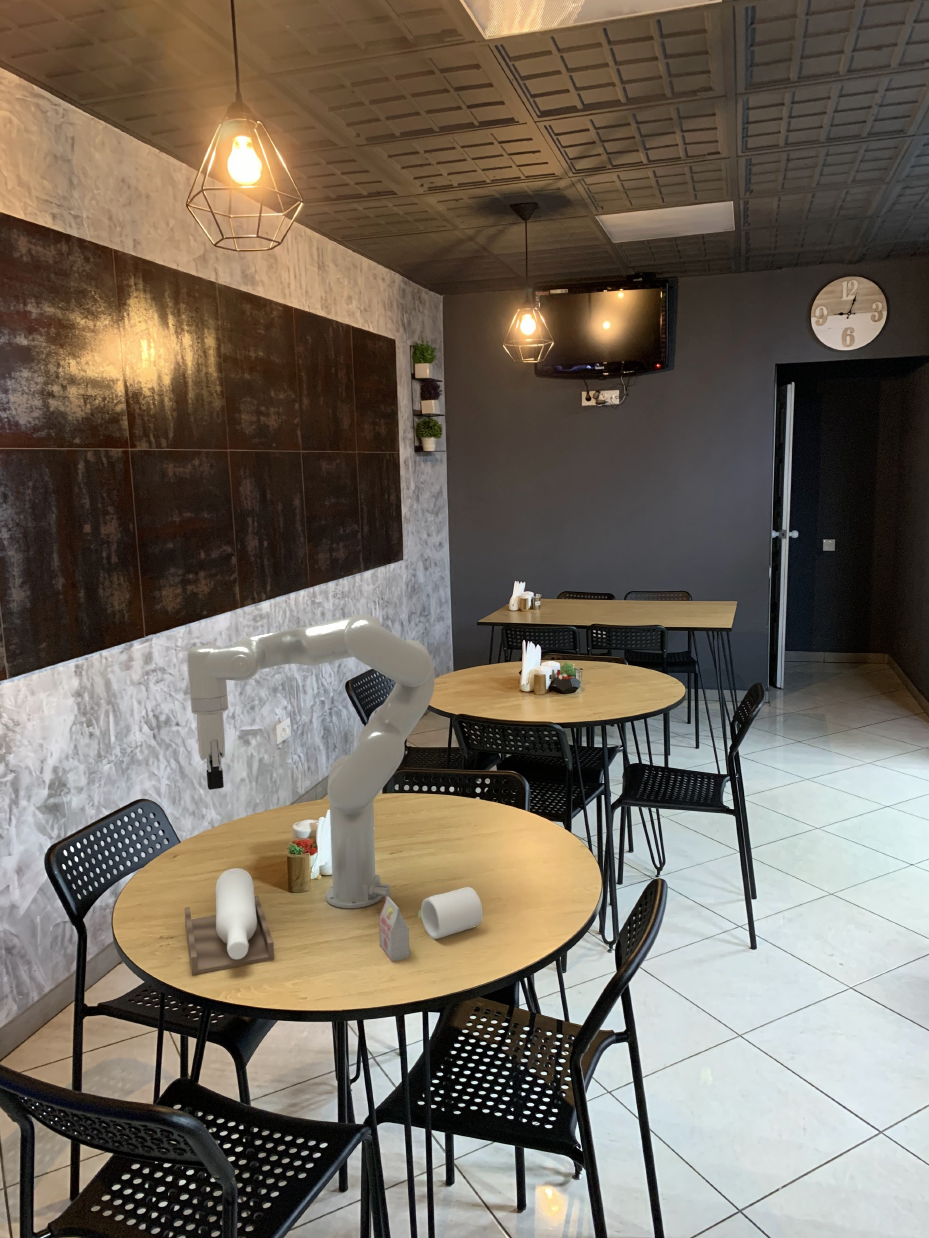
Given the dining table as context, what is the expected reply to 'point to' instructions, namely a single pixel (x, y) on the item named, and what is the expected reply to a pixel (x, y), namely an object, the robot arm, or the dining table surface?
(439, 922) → the mug
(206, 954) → the u rest
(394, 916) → the grey gabled box
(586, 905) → the dining table surface
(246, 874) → the bottle
